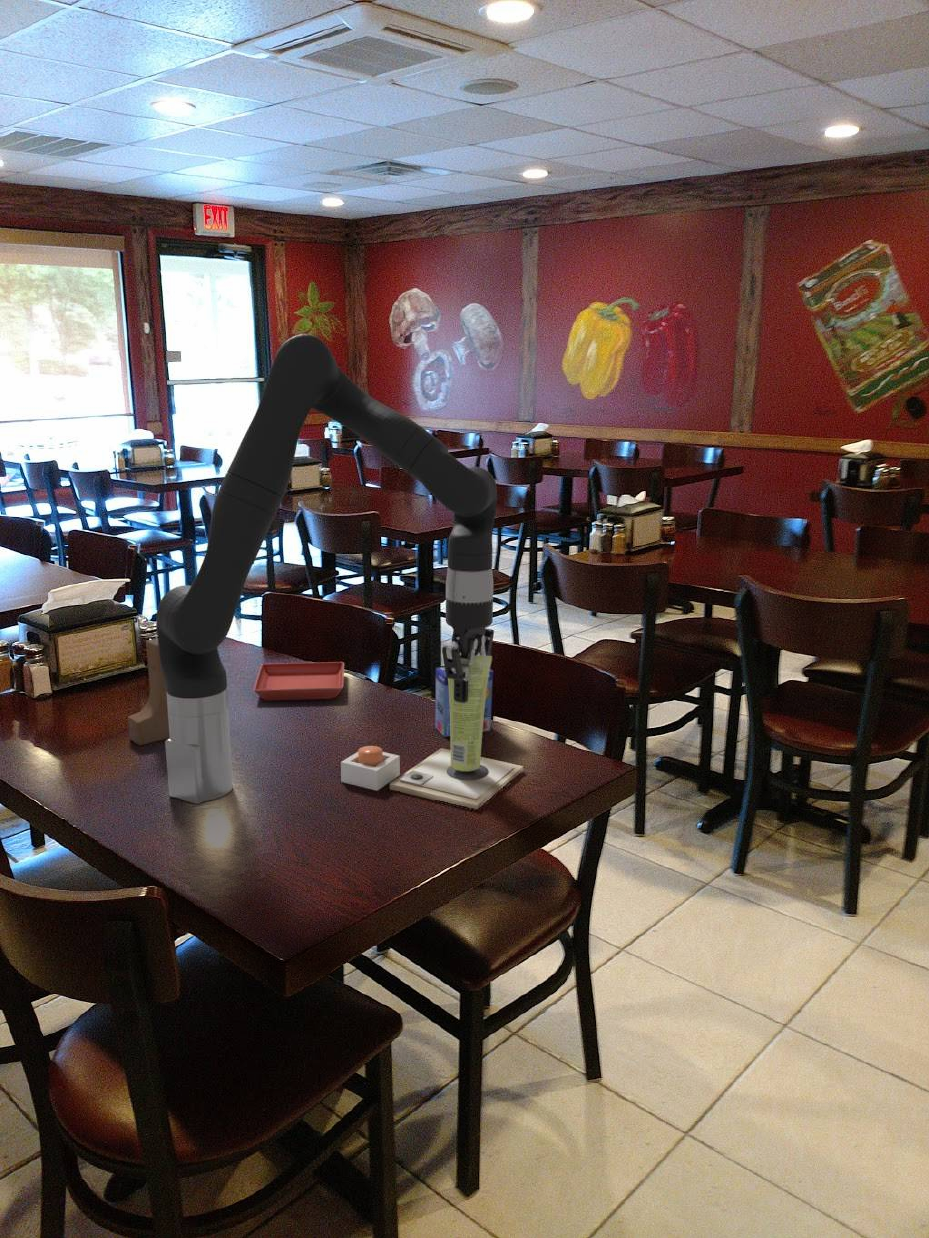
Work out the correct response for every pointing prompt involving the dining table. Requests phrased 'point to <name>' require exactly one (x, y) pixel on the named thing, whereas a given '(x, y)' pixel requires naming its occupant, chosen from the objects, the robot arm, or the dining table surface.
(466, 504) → the robot arm
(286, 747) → the dining table surface
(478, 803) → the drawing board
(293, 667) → the plant saucer
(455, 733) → the tube
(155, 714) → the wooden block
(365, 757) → the button
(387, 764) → the button housing
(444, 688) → the ink cartridge box
